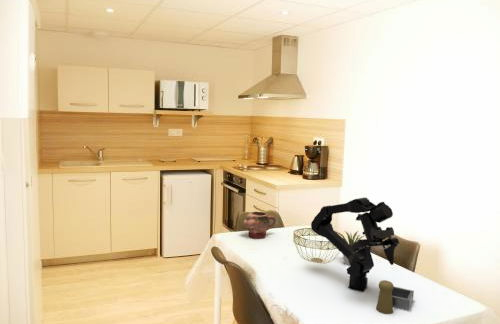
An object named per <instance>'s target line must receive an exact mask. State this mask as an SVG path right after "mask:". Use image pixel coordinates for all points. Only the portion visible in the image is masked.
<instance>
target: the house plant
mask: <svg viewBox="0 0 500 324" xmlns="http://www.w3.org/2000/svg"><path fill="white" fill-rule="evenodd" d="M344 232H345V233H346V235H347V239H346V238H345V236H344V235H343V234H342V233H340V232H339V233H338V235H340V236H341V237H342V238H343V239H344V240H345V241H346V242H347V243H348V244H349V245H350V246H353V243H355V242H356V241H358V240H362V238H364V237H365V235H362V236H361V234H358V232H359V230H357V231H355V233H354V234H353V236H352V233H351V231H349V233H348V231H345V230H344ZM356 236H357V237H356ZM347 240H348V241H347ZM342 256H343V264H344V265H345V266H350V264H349V260H348V258H347V257H346V256H344V255H343V254H342Z"/></svg>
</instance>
